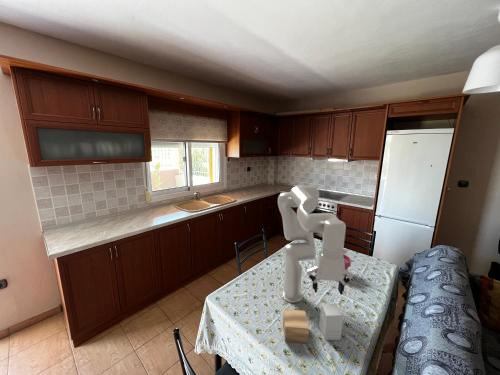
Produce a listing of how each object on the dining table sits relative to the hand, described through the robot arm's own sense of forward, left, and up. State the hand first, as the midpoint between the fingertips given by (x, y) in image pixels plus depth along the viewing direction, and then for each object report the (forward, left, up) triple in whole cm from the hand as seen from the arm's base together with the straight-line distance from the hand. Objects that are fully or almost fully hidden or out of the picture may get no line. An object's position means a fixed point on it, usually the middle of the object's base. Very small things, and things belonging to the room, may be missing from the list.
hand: (327, 291), depth 82 cm
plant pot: (-55, +26, -28) cm, 67 cm away
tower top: (-8, -10, -24) cm, 27 cm away
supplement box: (-8, +6, -28) cm, 30 cm away
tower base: (-8, -10, -28) cm, 31 cm away
